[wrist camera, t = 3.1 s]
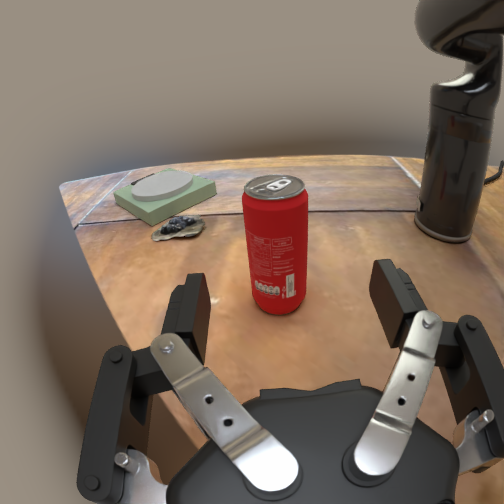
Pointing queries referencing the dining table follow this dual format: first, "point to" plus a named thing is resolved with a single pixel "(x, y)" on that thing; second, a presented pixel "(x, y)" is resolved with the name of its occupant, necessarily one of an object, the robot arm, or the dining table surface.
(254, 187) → the beverage can
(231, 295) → the dining table surface
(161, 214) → the scale
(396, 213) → the dining table surface
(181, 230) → the geode
